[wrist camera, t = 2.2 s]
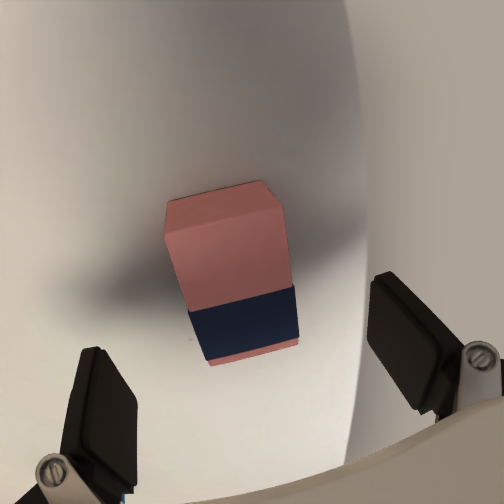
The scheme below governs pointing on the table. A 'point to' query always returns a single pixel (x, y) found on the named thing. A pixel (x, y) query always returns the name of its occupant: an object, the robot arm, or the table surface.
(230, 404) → the table surface
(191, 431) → the table surface
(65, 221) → the table surface
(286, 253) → the eraser
